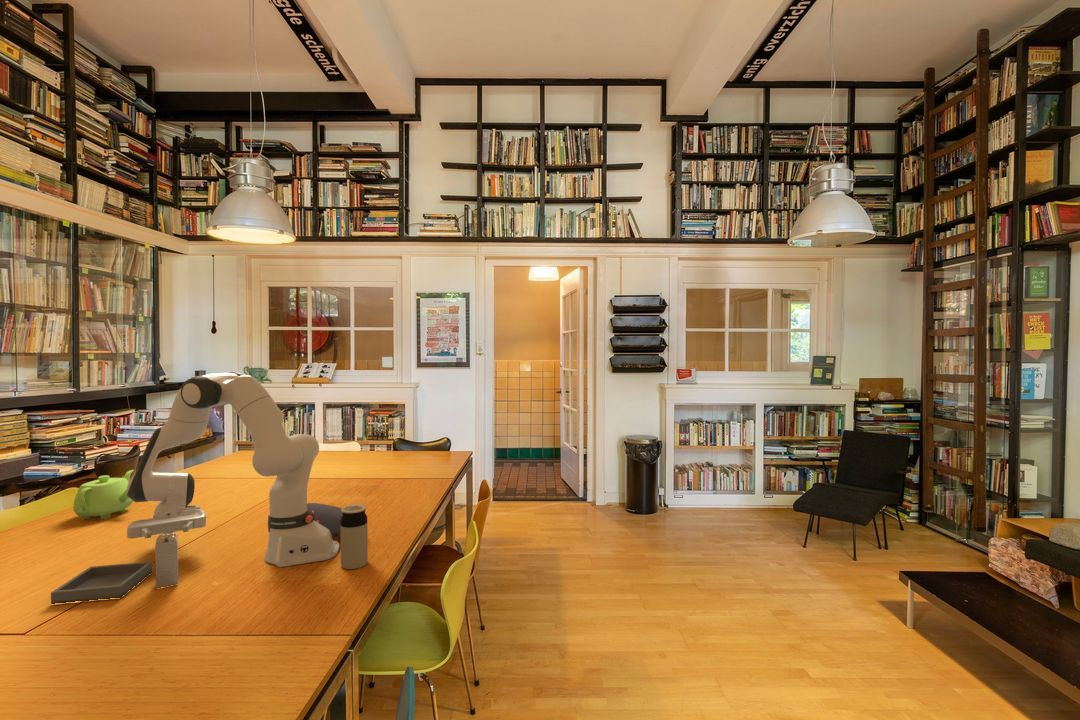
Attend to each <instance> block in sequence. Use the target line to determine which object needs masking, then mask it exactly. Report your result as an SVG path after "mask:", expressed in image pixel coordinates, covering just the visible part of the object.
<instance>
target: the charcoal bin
mask: <svg viewBox="0 0 1080 720" xmlns="http://www.w3.org/2000/svg"><path fill="white" fill-rule="evenodd" d="M153 569H154V568H153V561H143V562H132V563H131V562H130V563H129V562H128V563H120V564H119V563H118V564H109V565H95V566H94V565H93V566H92V565H91V566H89V567H88V568H86V569H84V570H83V571H82V572H80V573H79V574H77V575H76V576H74V577H72V578H71V579H69V580H68V581H67V582H65V583H63V584H61V585H60V586H59V587H57V588H56V589H55V590H53V591H51V592H50V605H51V604H55V603H66V602H75V601H89V600H98V599H110V598H121V597H122V596H123V595H125V594H126V593H127V592H128V591H129V590H131V589H132V588H133V587H134V586H136V585H137V584H138V583H139V582H141V581H142V580H143V579H144V578H145V577H147V576H148V575H149V574H151V573H152V572H153ZM153 573H154V572H153ZM153 573H152V574H153ZM152 574H151V575H152ZM149 576H150V575H149ZM149 576H148V577H149ZM148 577H147V578H148ZM143 581H144V580H143ZM143 581H142V582H143ZM142 582H141V583H142ZM137 586H138V585H137ZM137 586H136V587H137ZM131 591H132V590H131ZM125 596H126V595H125Z"/></svg>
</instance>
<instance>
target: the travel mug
mask: <svg viewBox="0 0 1080 720" xmlns="http://www.w3.org/2000/svg"><path fill="white" fill-rule="evenodd" d="M341 508H342V509H341V511H342V514H343V516H342V518H341V520H340V525H341V535H340V567H341V568H343V569H346V570H356V568H357V569H360V568H363V567H364V566H366V565H367V564H368V562H369V561H368V560H369V559H368V558H369V557H368V554H369V552H368V551H369V550H368V549H369V546H368V544H369V543H368V539H369V538H368V515H367V514H366V510H367V505H364V504H349V505H346V506H344V507H341Z"/></svg>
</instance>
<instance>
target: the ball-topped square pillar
mask: <svg viewBox="0 0 1080 720" xmlns="http://www.w3.org/2000/svg"><path fill="white" fill-rule="evenodd" d="M178 540H179V539H178V534H176V532H173V533H170V534H169V533H166V534H159V535H158V536H157V537H156V539H155V543H154V544H155V545H154V548H155V549H154V550H155V590H156V589H157V588H161V587H167V586H171V585H176V584H178V585H179V546H178V544H179V541H178ZM176 586H177V585H176ZM167 588H168V587H167Z"/></svg>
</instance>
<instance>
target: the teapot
mask: <svg viewBox="0 0 1080 720" xmlns="http://www.w3.org/2000/svg"><path fill="white" fill-rule="evenodd" d="M134 472H135V471H134V469H130V470H128V471H127V472H126V473H124V475H123V477H110V475H100V476H98V477H97V479H94V480H91V481H88V482H85V483H83V484H81V485H80V486H79V488H78V490H77V493H76V495H75V498H74V502H73V512H74V513H75V515H76V516H80V517H81V518H80V519H81V520H88V519H91V518H92V517H100V520H107V519H110V518H111V517H112V516H111V514H114V513H117V514H121V513H127V511H128V510H127V508H128V507H130V506H131V505H132V503H133V502H134V501H133V500H131V499H130V498H129V497H128V496H127V486H128V483H129V481H130V479H131V476H132V473H134Z"/></svg>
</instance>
